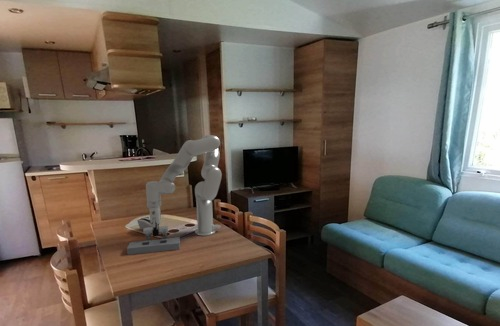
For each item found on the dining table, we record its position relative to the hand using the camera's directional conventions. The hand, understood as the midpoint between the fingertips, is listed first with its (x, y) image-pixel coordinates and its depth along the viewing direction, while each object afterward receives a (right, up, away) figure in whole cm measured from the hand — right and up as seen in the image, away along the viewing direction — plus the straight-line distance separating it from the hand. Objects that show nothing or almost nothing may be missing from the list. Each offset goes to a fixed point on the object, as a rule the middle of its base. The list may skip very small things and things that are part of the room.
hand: (156, 234), depth 156 cm
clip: (0, -4, +1) cm, 5 cm away
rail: (+2, -6, -8) cm, 10 cm away
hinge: (-10, -3, +17) cm, 20 cm away
